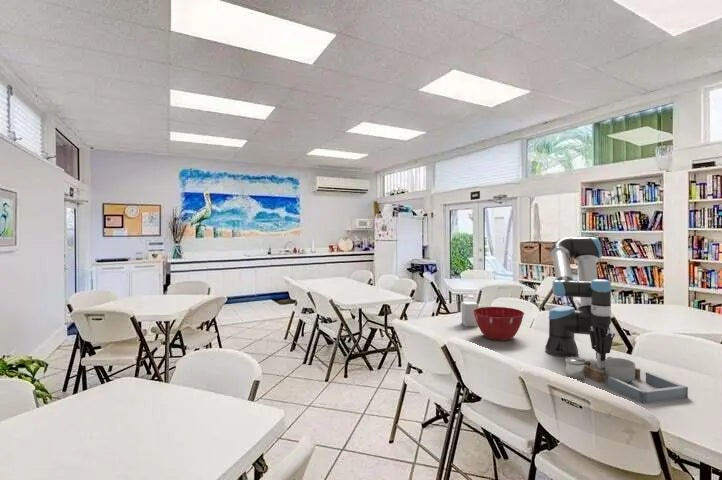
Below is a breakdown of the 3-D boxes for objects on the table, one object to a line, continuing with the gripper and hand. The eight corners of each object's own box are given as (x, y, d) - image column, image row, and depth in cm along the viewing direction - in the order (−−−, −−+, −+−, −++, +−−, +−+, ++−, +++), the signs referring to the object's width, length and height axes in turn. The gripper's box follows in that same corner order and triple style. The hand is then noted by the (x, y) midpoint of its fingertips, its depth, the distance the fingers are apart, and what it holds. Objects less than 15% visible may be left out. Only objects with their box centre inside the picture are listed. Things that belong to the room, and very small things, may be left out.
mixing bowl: (493, 346, 209) (493, 318, 209) (463, 333, 236) (463, 308, 236) (535, 341, 218) (535, 314, 217) (502, 329, 245) (501, 305, 245)
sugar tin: (561, 375, 168) (561, 357, 168) (575, 373, 169) (575, 356, 169) (573, 381, 161) (573, 363, 160) (589, 380, 162) (589, 362, 162)
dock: (607, 386, 155) (607, 376, 155) (648, 381, 159) (648, 372, 159) (643, 403, 140) (643, 392, 140) (687, 397, 144) (687, 387, 144)
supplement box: (478, 326, 252) (478, 303, 252) (464, 326, 252) (464, 304, 252) (474, 323, 261) (474, 301, 261) (461, 323, 262) (461, 301, 261)
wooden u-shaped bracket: (576, 370, 173) (576, 362, 172) (612, 367, 176) (612, 358, 176) (601, 383, 159) (601, 373, 159) (640, 378, 163) (640, 369, 163)
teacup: (640, 386, 155) (640, 367, 154) (609, 384, 158) (609, 365, 157) (625, 373, 168) (626, 355, 168) (598, 371, 171) (598, 354, 171)
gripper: (582, 312, 176) (582, 363, 176) (605, 318, 163) (605, 373, 164) (596, 311, 177) (596, 361, 178) (620, 317, 165) (620, 371, 165)
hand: (600, 367), depth 171 cm, fingers closed
